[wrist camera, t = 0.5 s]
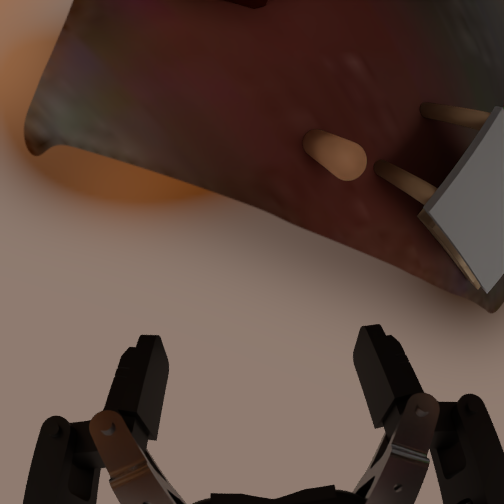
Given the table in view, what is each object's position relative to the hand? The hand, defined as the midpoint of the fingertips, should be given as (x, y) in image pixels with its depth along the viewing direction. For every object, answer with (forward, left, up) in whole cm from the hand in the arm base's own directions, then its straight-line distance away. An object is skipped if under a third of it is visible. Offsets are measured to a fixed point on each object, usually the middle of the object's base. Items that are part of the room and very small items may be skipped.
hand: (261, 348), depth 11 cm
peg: (-8, +4, -24) cm, 25 cm away
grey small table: (-16, +19, -24) cm, 34 cm away
